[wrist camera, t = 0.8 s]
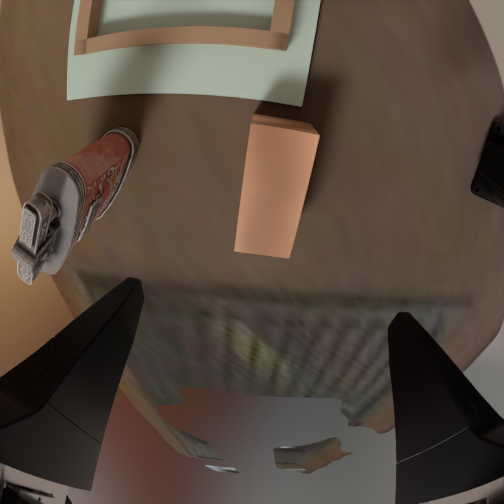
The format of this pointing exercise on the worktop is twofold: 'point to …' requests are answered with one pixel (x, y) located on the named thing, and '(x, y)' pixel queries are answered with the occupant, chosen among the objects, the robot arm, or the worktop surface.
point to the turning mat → (192, 48)
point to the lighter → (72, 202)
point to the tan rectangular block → (274, 184)
